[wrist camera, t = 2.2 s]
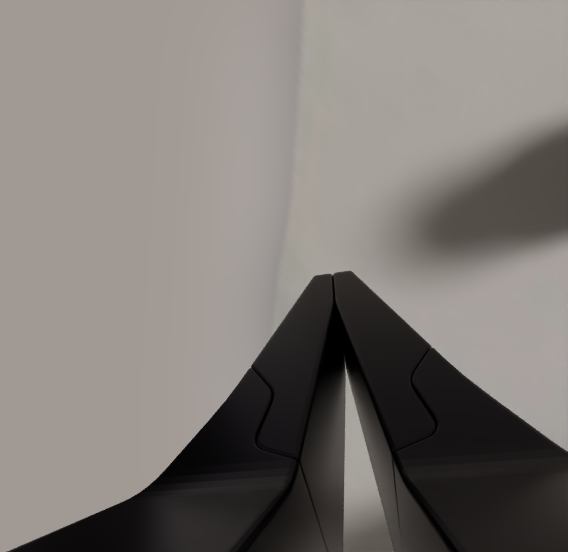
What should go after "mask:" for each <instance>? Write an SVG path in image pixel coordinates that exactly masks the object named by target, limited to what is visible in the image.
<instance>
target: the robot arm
mask: <svg viewBox="0 0 568 552" xmlns="http://www.w3.org/2000/svg"><path fill="white" fill-rule="evenodd" d="M345 364H346V369H347V373H348V378H349V382H350V385H351V389H352V393H353V397H354V400H355V404H356V408H357V412H358V415H359V419H360V423H361V427H362V431H363V434H364V438H365V442H366V446H367V449H368V453H369V457H370V461H371V464H372V468H373V472H374V476H375V480H376V483H377V487H378V491H379V495H380V498H381V502H382V506H383V510H384V514H385V517H386V521H387V525H388V529H389V532H390V536H391V540H392V544H393V547H394V551H395V552H568V451H566V450H564V449H563V448H561V447H560V446H558V445H557V444H556V443H554V442H553V441H551V440H550V439H548V438H547V437H546V436H544V435H543V434H542V433H540V432H539V431H537V430H536V429H535V428H533V427H532V426H531V425H529V424H528V423H527V422H525V421H524V420H523V419H521V418H520V417H518V416H517V415H516V414H514V413H513V412H512V411H510V410H509V409H508V408H506V407H505V406H503V405H502V404H501V403H499V402H498V401H497V400H495V399H494V398H493V397H491V396H490V395H489V394H487V393H486V392H485V391H483V390H482V389H481V388H479V387H478V386H477V385H476V384H474V383H473V382H472V381H470V380H469V379H468V378H467V377H465V376H464V375H463V374H462V373H460V372H459V371H458V370H457V369H456V368H455V367H454V366H453V365H451V364H450V363H449V362H448V361H447V360H446V359H445V358H443V357H442V356H441V355H440V354H439V353H438V352H437V351H436V350H435V349H434V348H432V347H431V345H430V344H429V343H427V342H426V341H425V340H424V339H423V338H422V337H421V336H420V335H419V334H418V333H417V332H416V331H415V330H414V329H413V328H411V327H410V326H409V325H408V324H407V323H406V322H405V321H404V320H403V319H402V318H401V317H400V316H399V315H398V314H397V313H395V312H394V311H393V310H392V309H391V308H390V307H389V306H388V305H387V304H386V303H385V302H384V301H383V300H382V299H381V298H380V297H378V296H377V295H376V294H375V293H374V292H373V291H372V290H371V289H370V288H369V287H368V286H367V285H366V284H365V283H364V282H362V281H361V280H360V279H359V278H358V277H357V276H356V275H355V274H354V273H353V272H352V271H344V272H338V273H335V274H334V275H332V274H324V275H317V276H314V277H313V279H312V280H311V281H310V283H309V284H308V286H307V287H306V289H305V290H304V291H303V293H302V294H301V296H300V297H299V299H298V300H297V301H296V303H295V304H294V306H293V307H292V309H291V310H290V311H289V313H288V314H287V316H286V317H285V319H284V320H283V321H282V323H281V324H280V326H279V327H278V329H277V330H276V331H275V333H274V334H273V336H272V337H271V338H270V340H269V341H268V343H267V344H266V346H265V347H264V349H263V350H262V351H261V353H260V354H259V356H258V357H257V358H256V360H255V361H254V363H253V364H252V366H251V368H250V369H249V370H248V371H247V373H246V374H245V375H244V377H243V378H242V380H241V381H240V382H239V384H238V385H237V386H236V388H235V389H234V390H233V392H232V393H231V394H230V396H229V397H228V398H227V400H226V401H225V402H224V403H223V404H222V406H221V407H220V408H219V409H218V410H217V412H216V413H215V414H214V415H213V416H212V418H211V419H210V420H209V421H208V422H207V423H206V424H205V426H204V427H203V428H202V429H201V430H200V431H199V432H198V433H197V435H196V436H195V437H194V438H193V439H192V440H191V442H189V444H188V445H187V446H186V447H185V448H184V449H183V450H182V452H181V453H180V454H179V455H178V456H177V457H176V458H175V459H174V461H173V462H172V463H171V464H170V465H169V466H168V467H167V468H166V470H165V471H164V472H163V473H162V474H161V475H160V476H159V477H158V478H157V479H156V480H155V481H154V482H152V483H151V484H150V485H149V486H148V487H147V488H145V489H144V490H143V491H141V492H140V493H138V494H137V495H135V496H133V497H132V498H130V499H128V500H126V501H124V502H121V503H119V504H117V505H114V506H112V507H110V508H107V509H105V510H103V511H100V512H98V513H96V514H94V515H91V516H89V517H87V518H84V519H82V520H80V521H77V522H75V523H72V524H70V525H68V526H65V527H63V528H61V529H59V530H56V531H54V532H52V533H49V534H47V535H45V536H42V537H40V538H38V539H35V540H33V541H31V542H28V543H26V544H24V545H21V546H19V547H17V548H14V549H12V550H10V551H7V552H343V521H344V452H345V383H346V375H345Z"/></svg>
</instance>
